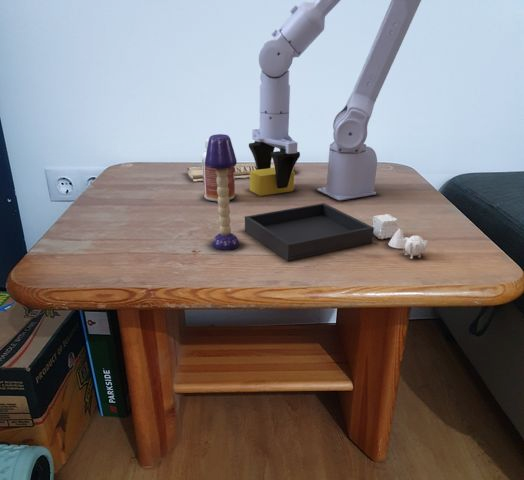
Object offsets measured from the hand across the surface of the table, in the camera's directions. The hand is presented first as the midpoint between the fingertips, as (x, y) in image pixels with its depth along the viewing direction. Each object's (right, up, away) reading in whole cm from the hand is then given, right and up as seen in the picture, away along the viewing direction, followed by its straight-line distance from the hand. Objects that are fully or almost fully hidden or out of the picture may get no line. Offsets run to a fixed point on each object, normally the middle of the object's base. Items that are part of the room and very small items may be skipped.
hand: (272, 182), depth 110 cm
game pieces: (+20, -18, -24) cm, 36 cm away
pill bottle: (-11, -4, -4) cm, 12 cm away
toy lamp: (-8, -18, -24) cm, 32 cm away
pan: (+5, -16, -21) cm, 27 cm away
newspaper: (-7, +5, +12) cm, 15 cm away
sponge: (0, -1, +1) cm, 2 cm away
